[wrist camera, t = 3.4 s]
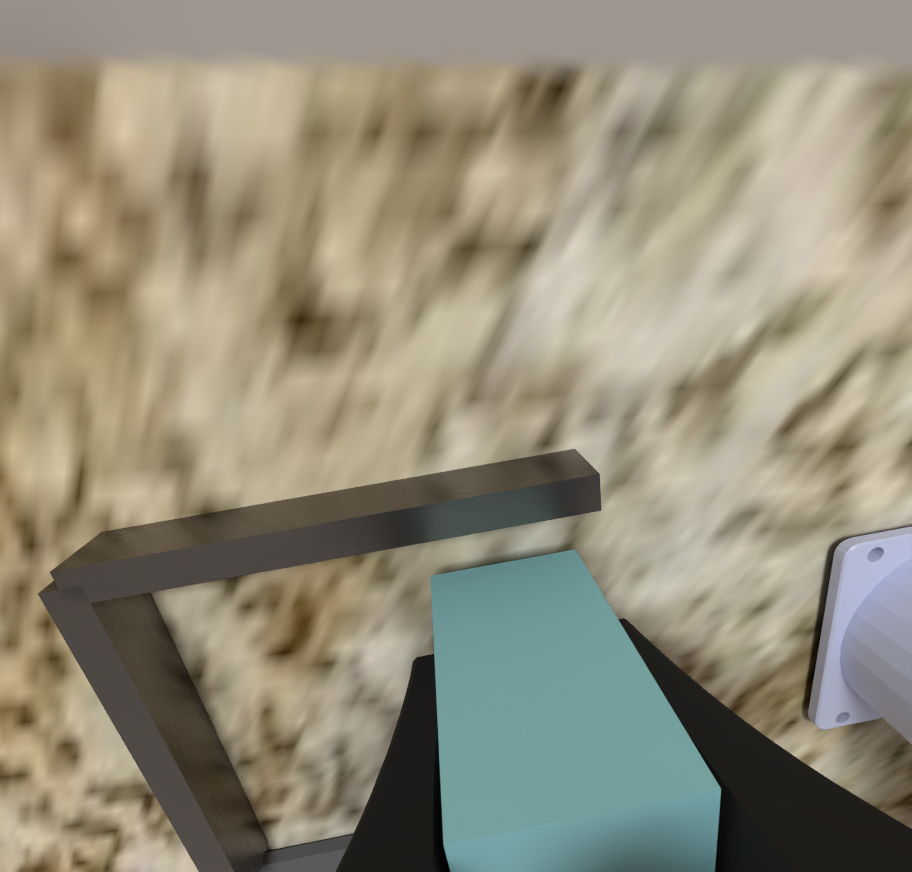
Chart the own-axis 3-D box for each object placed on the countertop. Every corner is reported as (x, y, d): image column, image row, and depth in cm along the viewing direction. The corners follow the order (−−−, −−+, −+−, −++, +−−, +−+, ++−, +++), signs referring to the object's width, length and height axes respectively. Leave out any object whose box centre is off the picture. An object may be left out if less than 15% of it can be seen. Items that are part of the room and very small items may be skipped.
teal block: (575, 549, 12) (720, 788, 6) (583, 661, 13) (709, 942, 7) (430, 575, 12) (443, 845, 6) (453, 685, 13) (481, 991, 7)
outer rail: (571, 445, 12) (599, 473, 10) (593, 767, 17) (615, 829, 15) (89, 530, 12) (27, 576, 10) (243, 838, 16) (221, 910, 14)
